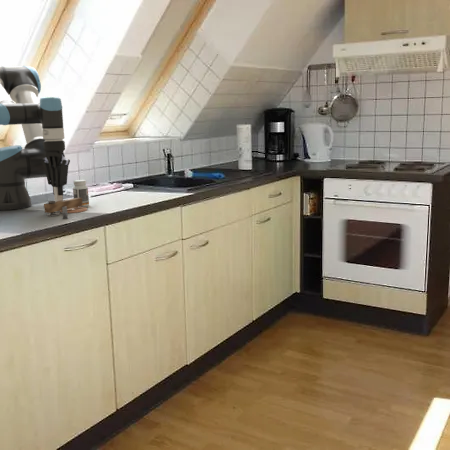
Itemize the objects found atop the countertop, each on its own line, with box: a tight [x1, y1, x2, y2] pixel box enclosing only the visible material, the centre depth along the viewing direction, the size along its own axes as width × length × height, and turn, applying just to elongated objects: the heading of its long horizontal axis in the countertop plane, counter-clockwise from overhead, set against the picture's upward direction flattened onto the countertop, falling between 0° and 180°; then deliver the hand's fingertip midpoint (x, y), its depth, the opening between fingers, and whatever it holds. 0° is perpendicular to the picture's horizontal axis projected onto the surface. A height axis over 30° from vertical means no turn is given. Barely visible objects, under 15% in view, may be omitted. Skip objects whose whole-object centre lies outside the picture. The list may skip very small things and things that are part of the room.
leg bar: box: [43, 197, 83, 214], centre depth 214 cm, size 16×2×4 cm, turn 148°
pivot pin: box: [46, 212, 60, 217], centre depth 210 cm, size 4×4×1 cm
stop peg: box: [61, 207, 69, 220], centre depth 203 cm, size 2×2×4 cm
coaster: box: [59, 206, 88, 214], centre depth 218 cm, size 10×10×1 cm
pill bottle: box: [72, 179, 90, 207], centre depth 227 cm, size 6×6×10 cm
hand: (59, 203), depth 219 cm, fingers closed
